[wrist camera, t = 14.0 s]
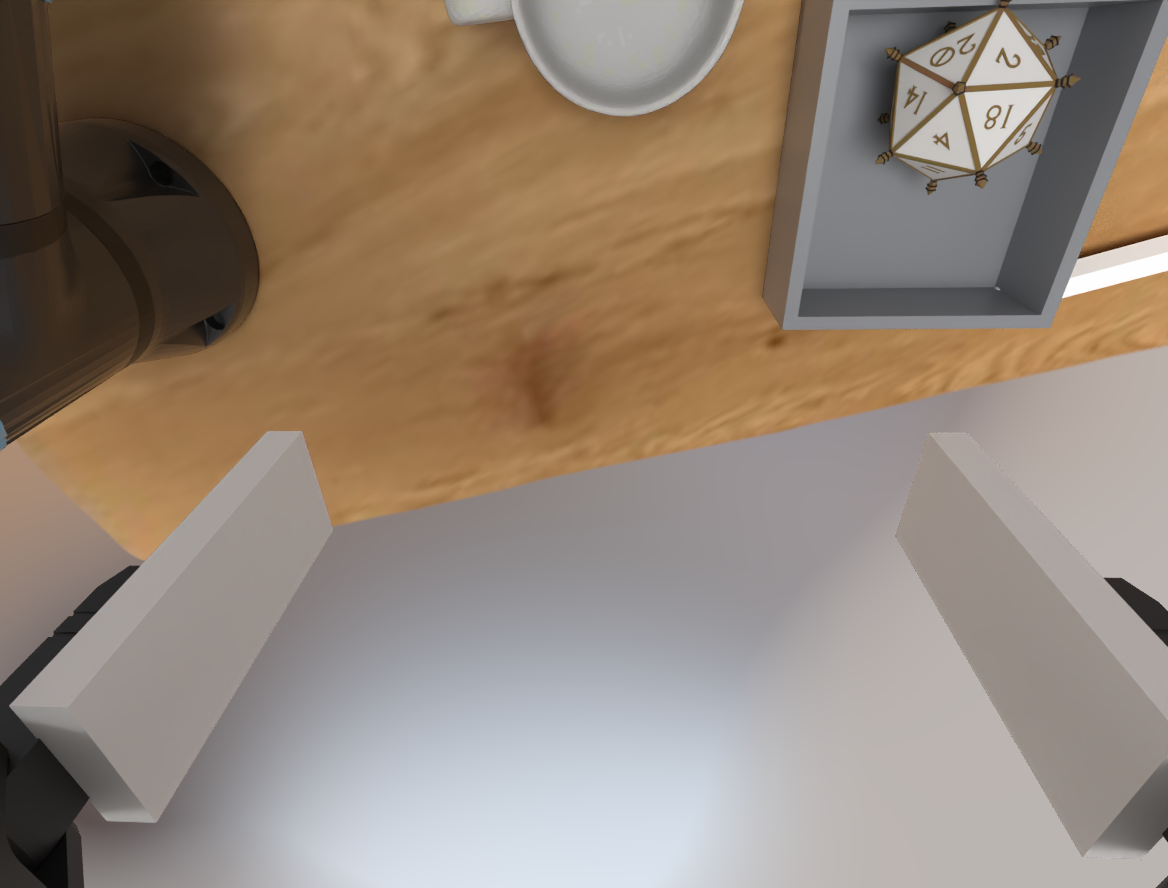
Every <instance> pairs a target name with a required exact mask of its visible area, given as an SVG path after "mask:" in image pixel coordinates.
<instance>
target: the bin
mask: <svg viewBox="0 0 1168 888" xmlns="http://www.w3.org/2000/svg"><path fill="white" fill-rule="evenodd" d="M999 5H1000V0H802V4H801V11H800V19H799V26H798V34H797V41H796V49H795V56H794V64H793V71H792V79H791V86H790V94H789V101H788V109H787V116H786V124H785V131H784V139H783V146H782V154H781V161H780V169H779V176H778V184H777V191H776V199H775V206H774V214H773V221H772V229H771V236H770V244H769V251H768V259H767V266H766V274H765V281H764V289H763V296H762V297H763V299H764V301H765V302H766V304H767V306H768V307H769V309H770V310H771V312H772V314H773V315H774V317H775V319H776V320H777V322H778V324H779V325H780V327H781V329H782V330H820V329H975V328H1050V327H1051V324H1052V322H1053V319H1054V317H1055V314H1056V312H1057V309H1058V307H1059V304H1060V302H1061V299H1062V297H1063V294H1064V292H1065V289H1066V287H1067V284H1068V282H1069V279H1070V277H1071V274H1072V272H1073V269H1074V267H1075V264H1076V262H1077V259H1078V257H1079V254H1080V252H1081V249H1082V247H1083V244H1084V242H1085V239H1086V237H1087V234H1088V232H1089V229H1090V227H1091V224H1092V222H1093V219H1094V217H1095V214H1096V212H1097V209H1098V207H1099V204H1100V202H1101V199H1102V197H1103V194H1104V192H1105V190H1106V187H1107V185H1108V182H1109V180H1110V177H1111V175H1112V172H1113V170H1114V167H1115V165H1116V162H1117V160H1118V157H1119V155H1120V152H1121V150H1122V147H1123V145H1124V142H1125V140H1126V137H1127V135H1128V132H1129V130H1130V127H1131V125H1132V122H1133V120H1134V117H1135V115H1136V112H1137V110H1138V107H1139V105H1140V102H1141V100H1142V97H1143V95H1144V92H1145V90H1146V87H1147V85H1148V82H1149V80H1150V77H1151V75H1152V72H1153V70H1154V67H1155V65H1156V62H1157V60H1158V57H1159V55H1160V52H1161V50H1162V47H1163V45H1164V42H1165V40H1166V37H1167V35H1168V0H1012V1H1010V3H1009V4H1008V8H1009V9H1010V10H1011V11H1012V12H1013V13H1014V14H1015V15H1016V16H1017V17H1018V19H1019V20H1020V21H1021V22H1022V23H1023V24H1024V25H1025V26H1026V27H1027V28H1028V29H1029V30H1030V31H1031V32H1032V33H1033V34H1034V35H1035V36H1036V37H1037V38H1038V39H1039V40H1040V41H1041V42H1042V43H1043V44H1044V43H1045V42H1046V39H1049V38H1050V37H1051V35H1053V36H1062V37H1061V39H1060V41H1059V45H1057V46H1055V47H1054V48H1052V49H1050V50H1048V49H1047V51H1048V54H1049V56H1050V59H1051V62H1052V64H1053V67H1054V69H1055V72H1056V74H1057V77H1058V79H1061V78H1062V77H1064V76H1065V75H1067V76H1069V75H1070V74H1072V73H1074V75H1075V76H1077V77H1079V78H1081V79H1080V80H1079V81H1077V82H1076V83H1075V84H1073V85H1072V87H1071V88H1069V87H1066V88H1065V89H1063V88H1062V87H1058V88H1057V89H1056V91H1055V93H1054V95H1053V97H1052V99H1051V101H1050V103H1049V105H1048V107H1047V110H1046V112H1045V114H1044V116H1043V118H1042V120H1041V122H1040V124H1039V126H1038V128H1037V130H1036V132H1035V134H1034V137H1033V139H1032V142H1034V143H1035V142H1038V144H1042V145H1041V151H1042V154H1033V155H1031V153H1030V152H1028V150H1027V148H1024V149H1022V150H1020V151H1019V152H1017V153H1015V154H1014V155H1012V156H1010V157H1009V158H1007V159H1005V160H1003V161H1002V162H1000V163H998V164H997V165H995V166H993V167H992V168H990V169H988V170H987V171H985V172H984V174H985V175H987V177H986V178H987V179H988V180H989V181H988V182H987V183H986V184H985V186H984V188H983V189H982V188H980V187H978V186H975V183H976V181H974V180H975V177H976V175H972V176H965V177H959V178H953V179H946V180H940V181H937V187H936V191H934V192H932V193H931V194H929V195H928V193H927V190H926V189H925V188H926V187H927V183H929V182H930V181H931V179H929V178H928V177H926V176H924V175H923V174H921V173H919V172H918V171H916V170H915V169H913V168H911V167H910V166H908V165H906V164H905V163H903V162H902V161H900V160H898V159H897V158H895V157H893V156H892V157H891V158H890V159H889V161H887V162H885V164H875V162H876V160H877V158H878V155H881V154H882V153H883V152H888V151H889V122H887V123H883V124H881V123H880V122H878V121H877V119H878V118H879V117H880V116H881V114H882V113H883V114H885V113H888V114H890V109H891V102H892V95H893V88H894V81H895V75H896V68H897V61H894V60H893V61H891V59H889V58H888V59H887V54H886V50H885V48H893V47H896V49H897V50H898V49H899V50H900V53H901V54H902V55H903V54H905V53H907V52H909V51H911V50H913V49H915V48H917V47H919V46H921V45H923V44H925V43H927V42H929V41H931V40H933V39H935V38H937V37H939V36H941V35H943V34H945V30H944V28H945V27H946V25H947V23H948V21H950V22H953V23H956V27H958V26H960V25H962V24H964V23H966V22H968V21H970V20H972V19H974V18H976V17H978V16H980V15H982V14H984V13H986V12H988V11H990V10H992V9H994V8H996V7H998V6H999ZM994 287H999V289H1000V290H997V289H995V288H994Z"/></svg>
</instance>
